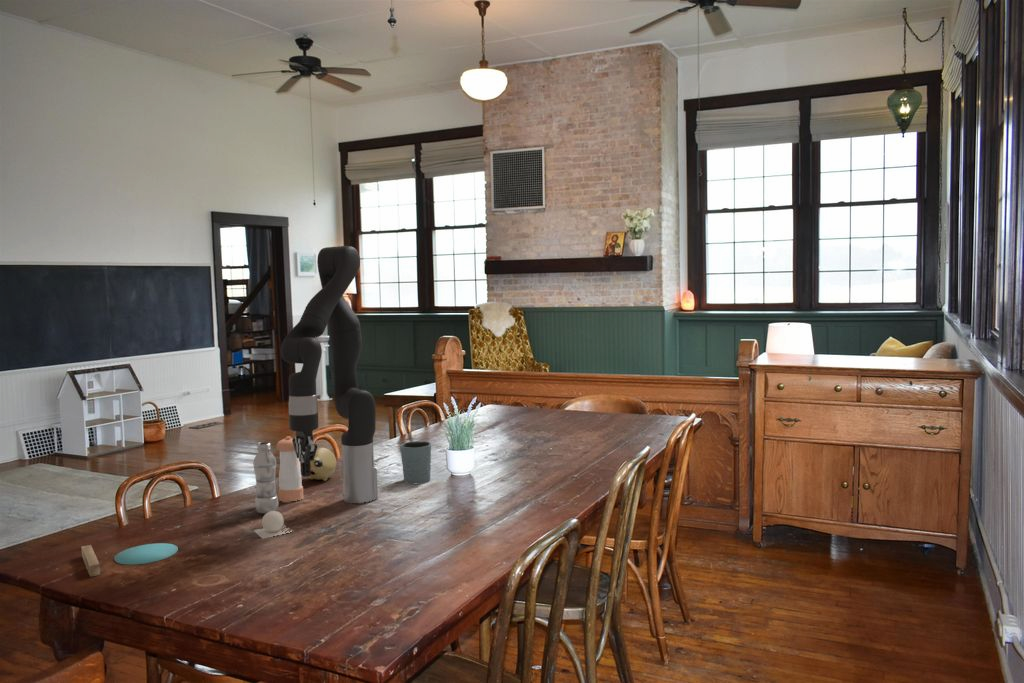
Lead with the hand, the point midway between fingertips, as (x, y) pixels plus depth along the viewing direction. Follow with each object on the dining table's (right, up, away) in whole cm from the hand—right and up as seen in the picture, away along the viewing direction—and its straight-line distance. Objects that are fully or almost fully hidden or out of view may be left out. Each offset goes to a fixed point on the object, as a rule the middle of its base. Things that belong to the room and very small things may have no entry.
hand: (305, 475), depth 205 cm
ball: (-7, -11, -5) cm, 14 cm away
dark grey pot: (+24, -10, +44) cm, 52 cm away
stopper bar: (-43, -17, -26) cm, 53 cm away
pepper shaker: (-11, -12, +26) cm, 31 cm away
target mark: (-34, -16, -19) cm, 42 cm away
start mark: (-7, -14, -4) cm, 16 cm away
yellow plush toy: (-8, -10, +47) cm, 49 cm away
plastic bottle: (-14, -13, +13) cm, 23 cm away
